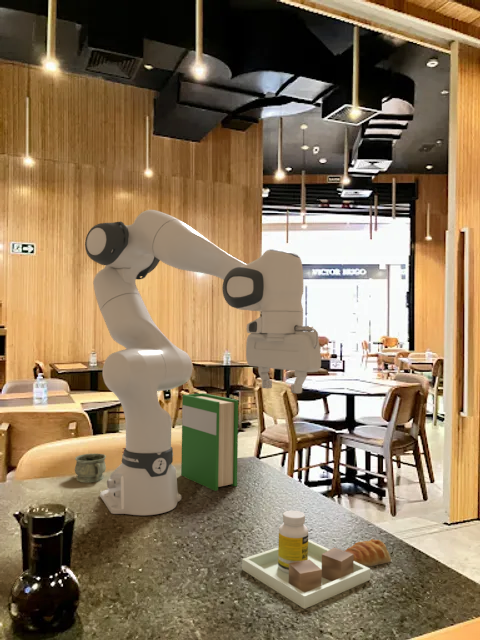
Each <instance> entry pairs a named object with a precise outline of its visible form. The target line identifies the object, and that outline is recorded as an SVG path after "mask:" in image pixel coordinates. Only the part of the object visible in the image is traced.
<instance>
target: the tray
mask: <svg viewBox="0 0 480 640" xmlns="http://www.w3.org/2000/svg"><path fill="white" fill-rule="evenodd" d="M329 550H330V548H327V547H325V546H323V545H321V544H319V543H317V542H315V541H313V540H311V539H309V538H308V560H311V561H312V562H313V563H314V564H316V565H317V566H318V567H319V568H320V569H321V570H322V554H323V553H325V552H327V551H329ZM241 565H242V566H241V568H242V569H241V570H242V571H243V572H245V573H247V574H248V575H250V576H251V577H253V578H255V579H257V580H258V581H259V582H260V583H262V584H263V585H265V586H267V587H269V588H270V589H272V590H274V591H276V593H278V594H280V595H281V596H283V597H285V598H287V599H288V600H289V601H291V602H293V603H294V604H296V605H298V606H299V607H300V608H303V609H304V610H305V609H308V608H310V607H313V606H315V605H316V604H319V603H322V602H324V601H326V600H329V599H331V598H333V597H335V596H337V595H339V594H342V593H344V592H346V591H348V590H351V589H353V588H355V587H358V586H360V585H362V584H364V583H366V582H368V581H371V568H370V567H369V566H364V565H361V564H359V563H357V562H355V561H353V573H351V574H349V575H346V576H344V577H341V578H339V579H337V580H334V581H330V580H327V579H325V578H323V577H322V586H320V587H317V588H315V589H313V590H310V591H308V592H305V593H304V592H302V591H301V590H299V589H297V588H296V587H294V586H292V585H291V584H289V573H286V572H283V571H282V570H280V568H279V567H278V547H274V548H272V549H268V550H266V551H262V552H259V553H256V554H253V555H249V556H248V557H247V556H246V557H244V558H242V563H241Z"/></svg>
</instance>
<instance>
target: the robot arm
mask: <svg viewBox="0 0 480 640" xmlns="http://www.w3.org/2000/svg"><path fill="white" fill-rule="evenodd" d="M85 237H86V238H85V241H84V246H85V251H86V254H87V256H88V258H90V259H91V260H92V261H93V262H94V263H97V264H100V265H101V266H104V267H103V268H102V269H101V270H99V271H98V272H97V273H96V274H95V276H94V278H93V282H92V283H93V291H94V294H95V295H94V296H95V298H96V301H97V305H98V309H99V311H100V313H101V316H102V318H103V320H104V323H105V325H106V328H107V330H108V332H109V335H110V336H111V338H112V340H113V341H115V342H116V343H117V344H118V345H121V346H122V347H123V348H125V349H121V350H118V351H116V352H112V353H111V354H109V355H108V356H107V357H106V359H105V361H104V363H103V367H102V378H103V382H104V385H105V386H106V387H107V389H108V390H109V391H111V392H112V393H113V394H114V395H115V396H116V397H117V399H118V401H119V402H120V404H121V408H122V410H123V413H124V418H125V419H124V420H125V447H123V448H122V450H123V451H122V454H121V455H122V458H121V463H120V464H119V465H118V466H117V467H116V469H114V470H113V471H112V472H111V473H110V476H109V478H108V479H107V481H106V487H107V489H105V490H104V489H103V490H102V491H100V493H99V496H100V498H101V500H102V501H103V502H104V503H103V504H105V506H106V508H107V509H108V511H109V512H110V513H111V514H114V515H124V514H125V515H131V516H132V515H133V516H153V515H159V514H163V513H167V512H170V511H172V510H173V509H175V508H176V507H177V505H178V502H180V501H181V500H182V494H181V493H179V492H178V480H177V479H178V478H177V477H178V476H177V468H176V467H175V466H174V465H173V461H174V452H173V449H174V448H173V447H172V417H171V415H170V413H169V412H168V411H167V410H166V409H164V408H162V406H161V405H160V401H159V396H158V392H161V391H169V390H173V389H175V388H178V387H181V386H182V385H185V384H186V383H187V382H188V381H189V380H190V379H191V377H192V374H193V362H192V359H191V357H190V355H189V354H188V352H187V351H185V350H183V349H181V348H179V347H178V346H177V345H176V344H174V343H173V342H172V341H171V340H170V339H169V338H168V337H167V336H166V335H165V333H163V332H162V330H160V328H159V327H158V325H156V323H155V321H154V320H153V319H152V316H151V314H150V312H149V311H148V308H147V306H146V304H145V302H144V300H143V297H142V296H141V294H140V291H139V289H138V287H137V284H136V280H142V279H145V278H146V277H147V275H148V274H150V273H151V272H153V270H154V269H156V267H157V266H158V265H159V263H160V262H161V263H164V264H165V265H168V266H170V267H172V268H175V269H178V270H181V271H182V270H183V271H186V272H187V271H188V272H192V273H193V272H194V273H199V274H200V273H201V274H204V275H208V276H209V275H210V276H213V277H216V278H219V279H221V280H222V281H223V282H222V295H223V299H224V300H225V303H227V305H228V306H230V307H232V308H234V309H237V310H241V311H249V312H250V311H251V312H261V316H259V317H258V318H255V319H254V320H253V321H250V322H249V323H247V324H246V333H247V334H248V335H247V337H246V345H245V346H246V347H245V348H246V349H245V357H246V358H245V361H246V363H247V364H248V366H249V367H258V370H257V371H258V376H259V377H260V380H261V388H262V389H268V390H269V389H272V388H273V380H272V379H270V376H269V372H270V369H274V370H282V371H283V370H285V371H294V377H295V380H294V383H291V385H290V388H291V390H290V392H291V393H293V394H302V393H303V384H304V383H305V380H306V379H307V376H308V373H316V372H317V373H318V372H319V371H320V369H321V367H322V355H321V347H320V341H319V333H318V331H317V330H316V329H315V328H314V326H312V325H304V309H303V305H302V304H303V303H302V300H303V299H302V297H303V294H304V269H303V263H302V259H301V257H300V256H299V255H298V254H296V252H292V251H287V250H284V249H283V250H282V249H277V248H276V249H275V248H274V249H270V248H269V249H267V250H266V251H264V252H263V254H262V255H261V256H260V257H258V258H256V259H255V260H253V261H250V262H249V263H246V262H244V261H242V260H241V259H239V258H237V257H235V256H234V255H232V254H229V253H228V252H226V251H224V250H223V249H221V248H220V247H219V246H217V245H216V244H215V243H213V242H212V241H210V240H209V239H208V238H207V237H205V236H204V235H202V233H199V231H197V230H196V229H194V228H193V227H191V226H190V225H188V224H187V223H185V222H184V221H182V220H181V219H179V218H177V217H174V216H173V215H170V214H168V213H165V212H162V211H160V210H156V209H147V210H144V211H142V212H140V213H139V214H138V215H137V217H135V220H134V221H133V223H131V224H129V225H125V223H124V222H123V221H115V222H114V221H113V222H102V223H96V224H95V225H93V226H92V227H91V228H90V229H89V231H88V232H87V234H86V236H85Z"/></svg>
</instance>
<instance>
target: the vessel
mask: <svg viewBox="0 0 480 640" xmlns="http://www.w3.org/2000/svg"><path fill="white" fill-rule="evenodd" d="M106 458H107V455H106V454H103V453H85V454H80V455H77V456H75V458H74V460H75V461H76V463H75V466H74V474H75V475H76V476H77V477H76V481H77V482H80V483H97V482H100V481H103V479H104V478H105V477H104V475H103V474H104V473H105V472H106V469H107V466H106V462H105V460H106Z"/></svg>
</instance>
